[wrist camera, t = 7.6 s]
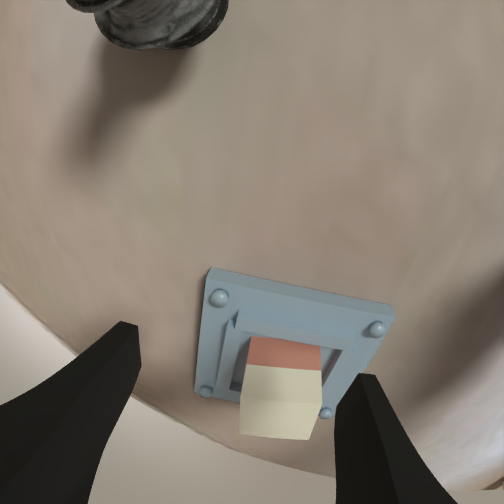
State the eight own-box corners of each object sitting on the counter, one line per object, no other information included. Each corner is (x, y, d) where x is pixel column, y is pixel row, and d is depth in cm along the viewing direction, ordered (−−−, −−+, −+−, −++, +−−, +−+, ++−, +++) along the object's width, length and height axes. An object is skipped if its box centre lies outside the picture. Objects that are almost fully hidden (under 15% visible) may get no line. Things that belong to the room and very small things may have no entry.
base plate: (391, 305, 20) (398, 325, 18) (331, 406, 26) (332, 425, 24) (210, 267, 20) (203, 285, 18) (197, 381, 26) (191, 400, 24)
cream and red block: (319, 342, 20) (322, 404, 16) (309, 383, 23) (308, 440, 18) (251, 335, 21) (240, 397, 16) (249, 377, 23) (239, 434, 19)
